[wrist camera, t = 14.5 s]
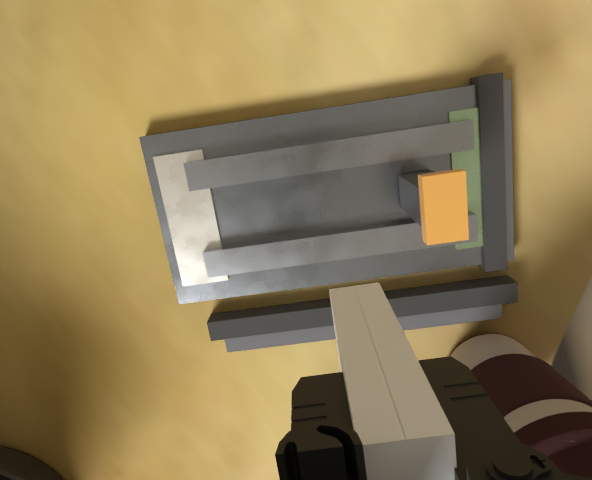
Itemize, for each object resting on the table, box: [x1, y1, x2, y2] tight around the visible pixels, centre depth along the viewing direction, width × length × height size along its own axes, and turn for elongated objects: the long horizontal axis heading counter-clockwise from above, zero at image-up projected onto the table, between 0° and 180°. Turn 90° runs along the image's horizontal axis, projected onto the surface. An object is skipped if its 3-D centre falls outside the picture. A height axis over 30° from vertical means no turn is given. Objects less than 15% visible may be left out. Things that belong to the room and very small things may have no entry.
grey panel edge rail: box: [470, 73, 507, 272], centre depth 32 cm, size 2×14×2 cm, turn 8°
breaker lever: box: [398, 169, 469, 245], centre depth 28 cm, size 2×4×7 cm, turn 9°
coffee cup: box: [450, 334, 592, 478], centre depth 30 cm, size 10×10×15 cm
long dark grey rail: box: [207, 276, 517, 352], centre depth 35 cm, size 24×3×2 cm, turn 99°
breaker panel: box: [139, 79, 514, 304], centre depth 33 cm, size 26×13×2 cm, turn 99°
